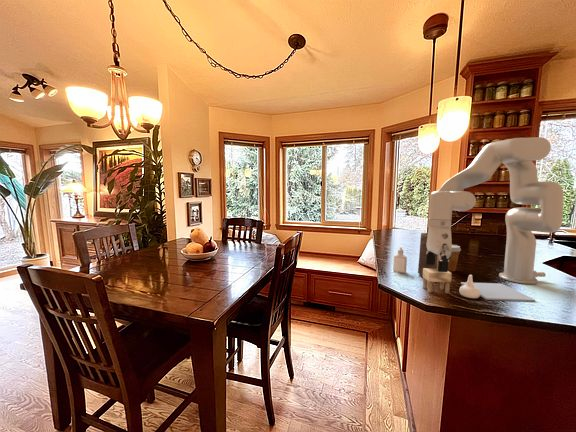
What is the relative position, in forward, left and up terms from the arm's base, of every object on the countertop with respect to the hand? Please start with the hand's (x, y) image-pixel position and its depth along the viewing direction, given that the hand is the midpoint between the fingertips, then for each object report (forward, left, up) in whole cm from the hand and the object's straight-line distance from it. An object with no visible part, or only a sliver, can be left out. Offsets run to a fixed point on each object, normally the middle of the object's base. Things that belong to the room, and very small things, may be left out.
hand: (436, 267), depth 98 cm
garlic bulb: (-11, +3, -9) cm, 15 cm away
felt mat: (-22, -1, -9) cm, 24 cm away
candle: (-4, -17, -9) cm, 20 cm away
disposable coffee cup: (-19, -29, -9) cm, 36 cm away
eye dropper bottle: (+6, -23, -9) cm, 26 cm away
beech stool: (0, 0, -9) cm, 9 cm away
